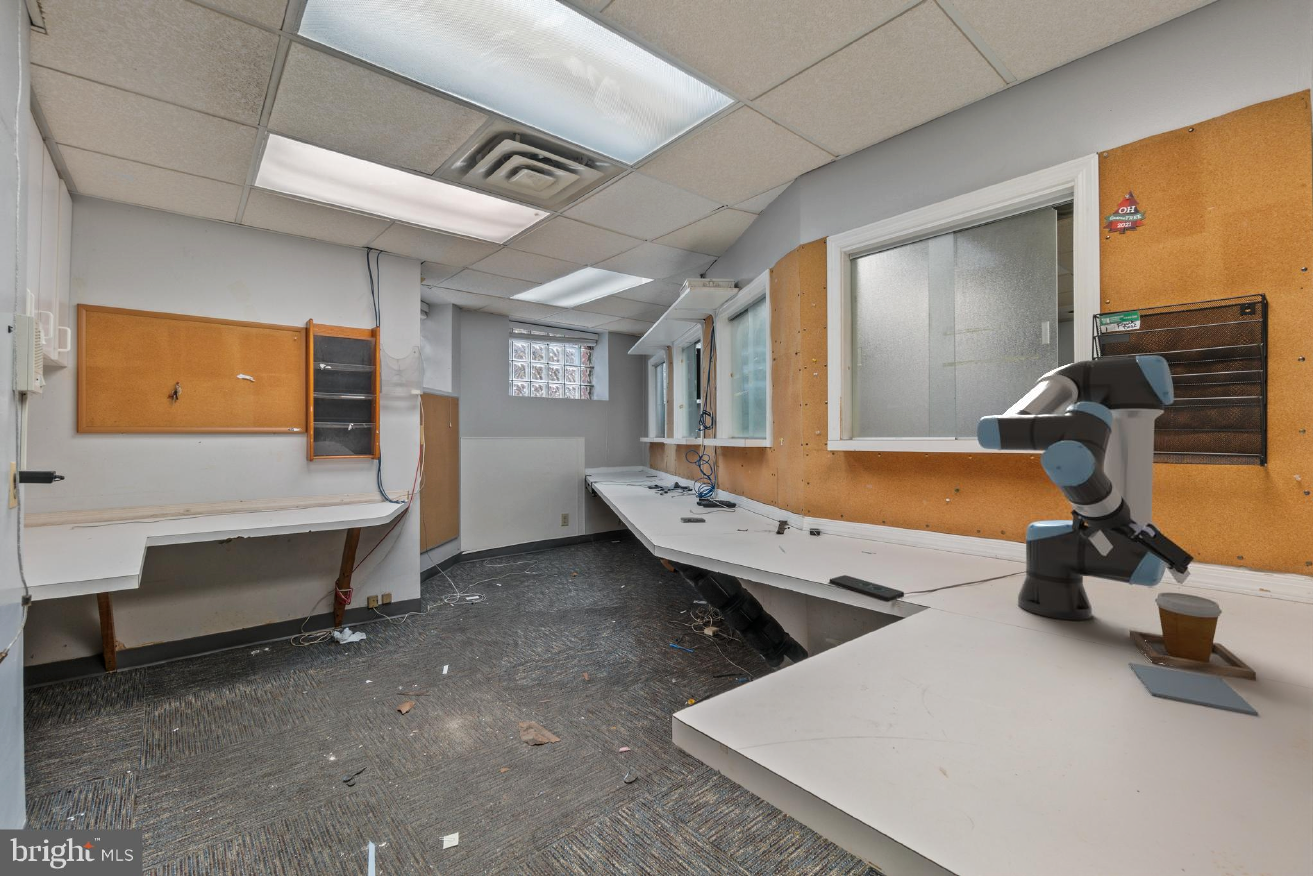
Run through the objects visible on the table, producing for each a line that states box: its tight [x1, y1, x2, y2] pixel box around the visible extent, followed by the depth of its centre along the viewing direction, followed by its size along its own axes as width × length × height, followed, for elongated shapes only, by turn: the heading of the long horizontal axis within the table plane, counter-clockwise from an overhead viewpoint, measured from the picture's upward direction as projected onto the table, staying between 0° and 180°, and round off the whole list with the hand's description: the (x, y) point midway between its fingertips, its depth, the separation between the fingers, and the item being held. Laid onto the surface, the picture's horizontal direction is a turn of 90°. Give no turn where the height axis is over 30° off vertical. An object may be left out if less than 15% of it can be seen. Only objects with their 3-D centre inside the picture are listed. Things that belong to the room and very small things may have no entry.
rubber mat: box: [1128, 662, 1259, 716], centre depth 92 cm, size 13×13×1 cm
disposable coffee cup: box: [1154, 592, 1223, 663], centre depth 104 cm, size 10×10×12 cm
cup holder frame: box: [1128, 629, 1257, 681], centre depth 104 cm, size 14×14×2 cm
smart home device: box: [829, 574, 905, 602], centre depth 149 cm, size 8×2×20 cm
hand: (1143, 563), depth 105 cm, fingers open, 13 cm apart
